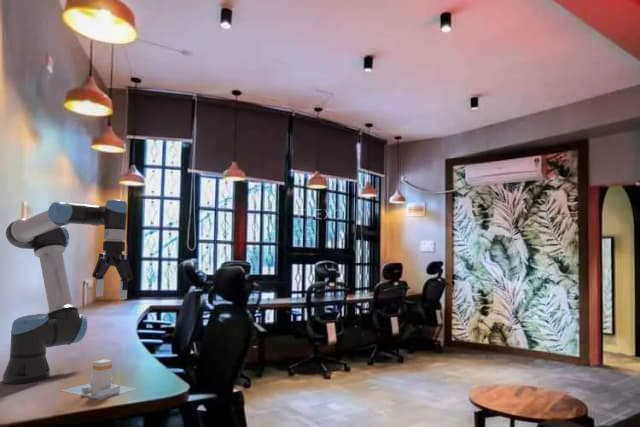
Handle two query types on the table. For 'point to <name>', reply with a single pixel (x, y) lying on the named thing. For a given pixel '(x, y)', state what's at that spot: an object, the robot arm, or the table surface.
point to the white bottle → (101, 375)
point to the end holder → (101, 392)
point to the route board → (78, 389)
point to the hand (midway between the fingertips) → (110, 297)
